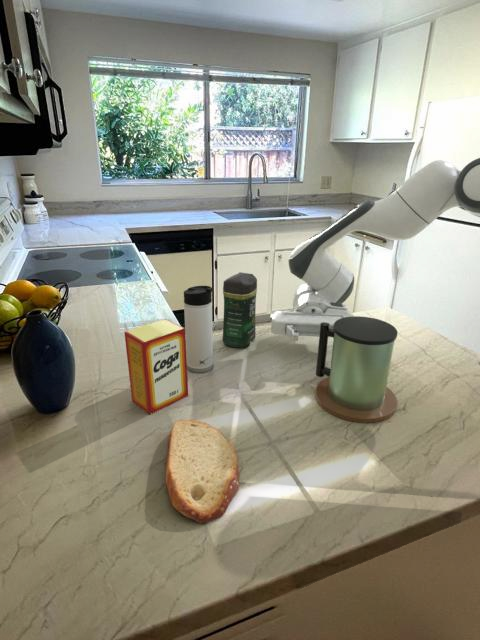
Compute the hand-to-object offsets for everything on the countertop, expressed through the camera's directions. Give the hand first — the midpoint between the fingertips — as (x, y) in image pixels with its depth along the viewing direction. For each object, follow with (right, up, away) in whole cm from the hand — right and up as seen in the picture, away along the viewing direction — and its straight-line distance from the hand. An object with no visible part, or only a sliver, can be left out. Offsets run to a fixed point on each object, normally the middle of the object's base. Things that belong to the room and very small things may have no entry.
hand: (316, 338), depth 89 cm
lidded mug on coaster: (+7, -12, -7) cm, 15 cm away
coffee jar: (-17, -2, +20) cm, 27 cm away
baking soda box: (-34, -12, -5) cm, 36 cm away
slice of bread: (-24, -20, -24) cm, 39 cm away
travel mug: (-26, -7, +7) cm, 28 cm away
